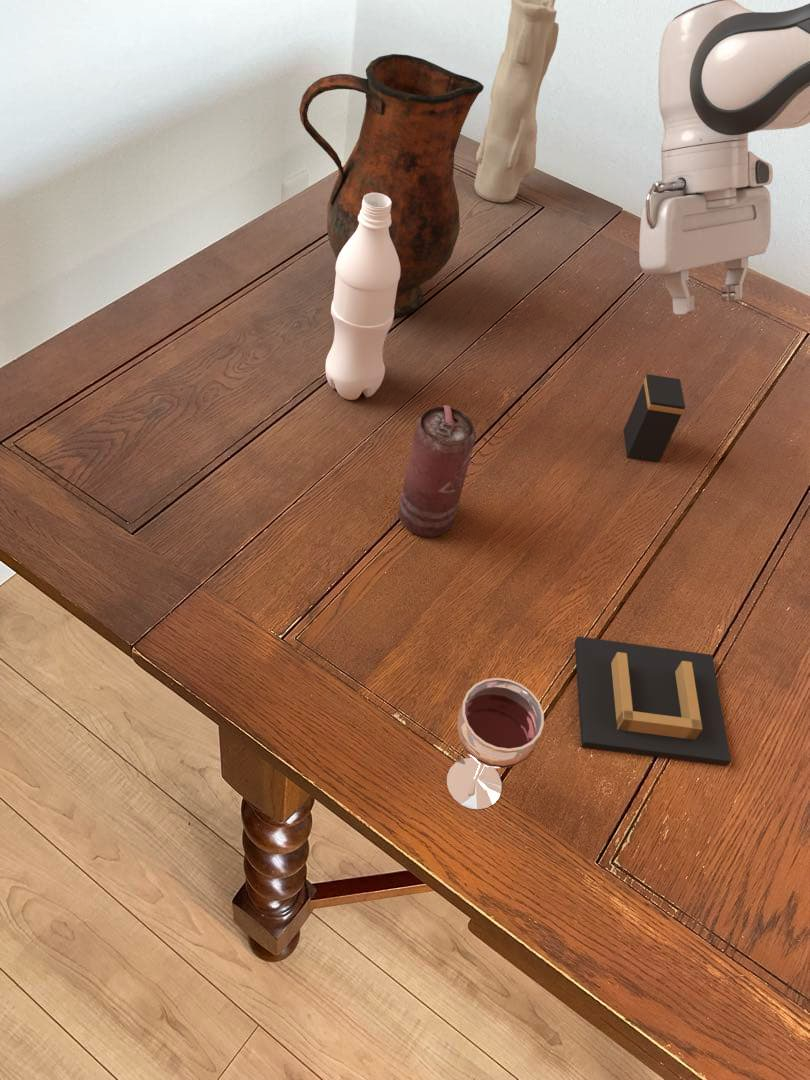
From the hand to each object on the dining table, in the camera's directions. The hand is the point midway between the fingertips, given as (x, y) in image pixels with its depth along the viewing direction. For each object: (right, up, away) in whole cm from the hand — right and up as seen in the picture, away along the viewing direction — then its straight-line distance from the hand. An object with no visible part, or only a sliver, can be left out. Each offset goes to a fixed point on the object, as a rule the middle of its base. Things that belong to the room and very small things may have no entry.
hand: (708, 307), depth 108 cm
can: (-32, -24, -2) cm, 39 cm away
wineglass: (-28, -48, -22) cm, 59 cm away
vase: (-19, +29, +46) cm, 58 cm away
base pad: (-10, -42, -14) cm, 45 cm away
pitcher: (-39, +7, +23) cm, 46 cm away
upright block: (-5, -14, +11) cm, 19 cm away
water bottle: (-40, -7, +11) cm, 42 cm away
